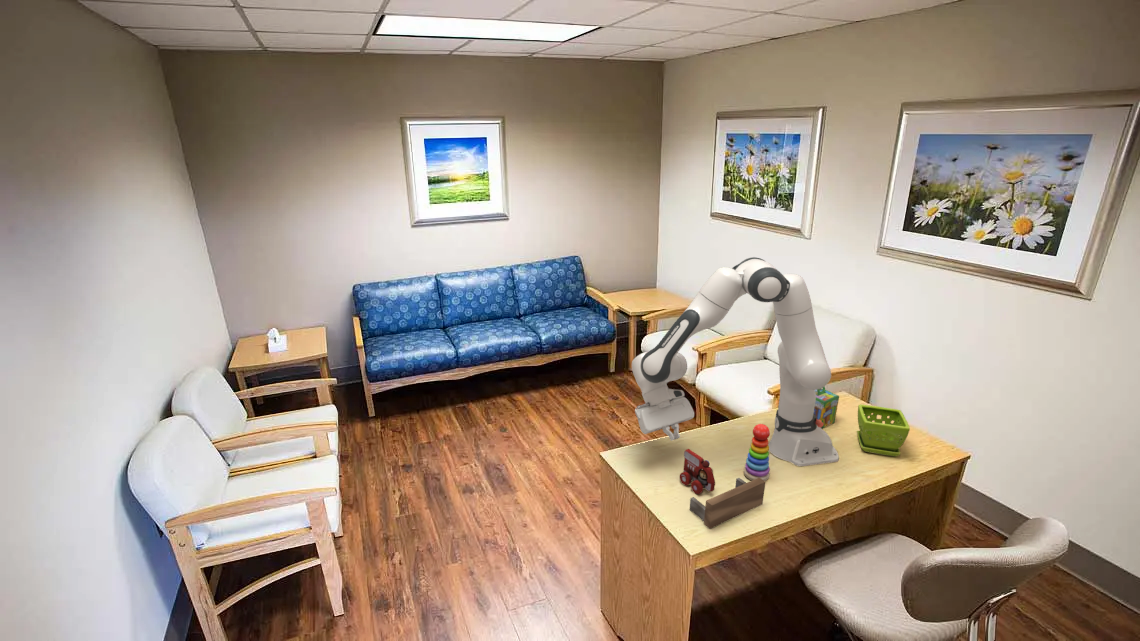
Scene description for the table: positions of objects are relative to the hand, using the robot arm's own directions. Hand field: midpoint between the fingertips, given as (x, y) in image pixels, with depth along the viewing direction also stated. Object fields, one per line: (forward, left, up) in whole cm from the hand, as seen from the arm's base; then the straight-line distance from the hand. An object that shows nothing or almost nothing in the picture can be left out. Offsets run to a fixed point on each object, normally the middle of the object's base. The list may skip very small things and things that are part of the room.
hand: (675, 439), depth 178 cm
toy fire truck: (-6, +9, -11) cm, 16 cm away
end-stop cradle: (-12, +20, -11) cm, 26 cm away
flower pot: (-73, -12, -11) cm, 74 cm away
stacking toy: (-26, +4, -11) cm, 28 cm away
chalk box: (-60, -30, -11) cm, 68 cm away
